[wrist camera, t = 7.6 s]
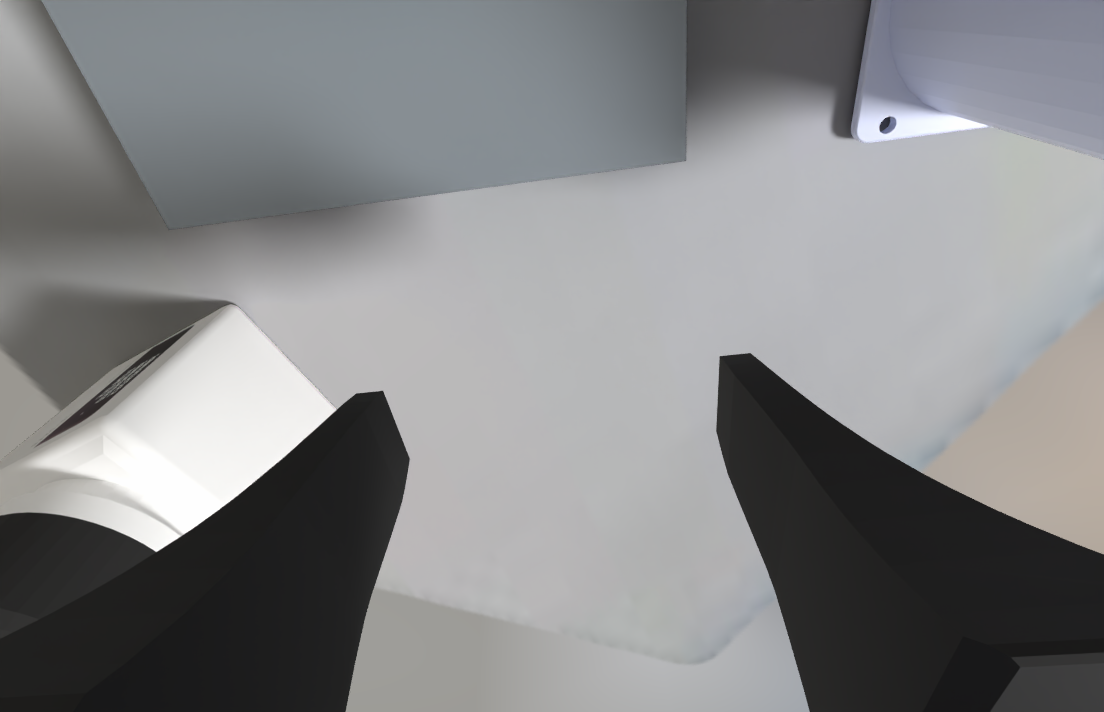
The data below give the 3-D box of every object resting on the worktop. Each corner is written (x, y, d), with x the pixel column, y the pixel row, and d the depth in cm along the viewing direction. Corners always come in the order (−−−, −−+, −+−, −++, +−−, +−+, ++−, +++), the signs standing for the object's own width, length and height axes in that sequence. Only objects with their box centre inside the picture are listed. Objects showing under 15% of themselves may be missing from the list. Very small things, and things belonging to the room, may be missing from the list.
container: (113, 367, 24) (-255, 665, 13) (236, 297, 22) (-82, 585, 11) (240, 475, 28) (35, 776, 17) (356, 424, 26) (205, 731, 15)
